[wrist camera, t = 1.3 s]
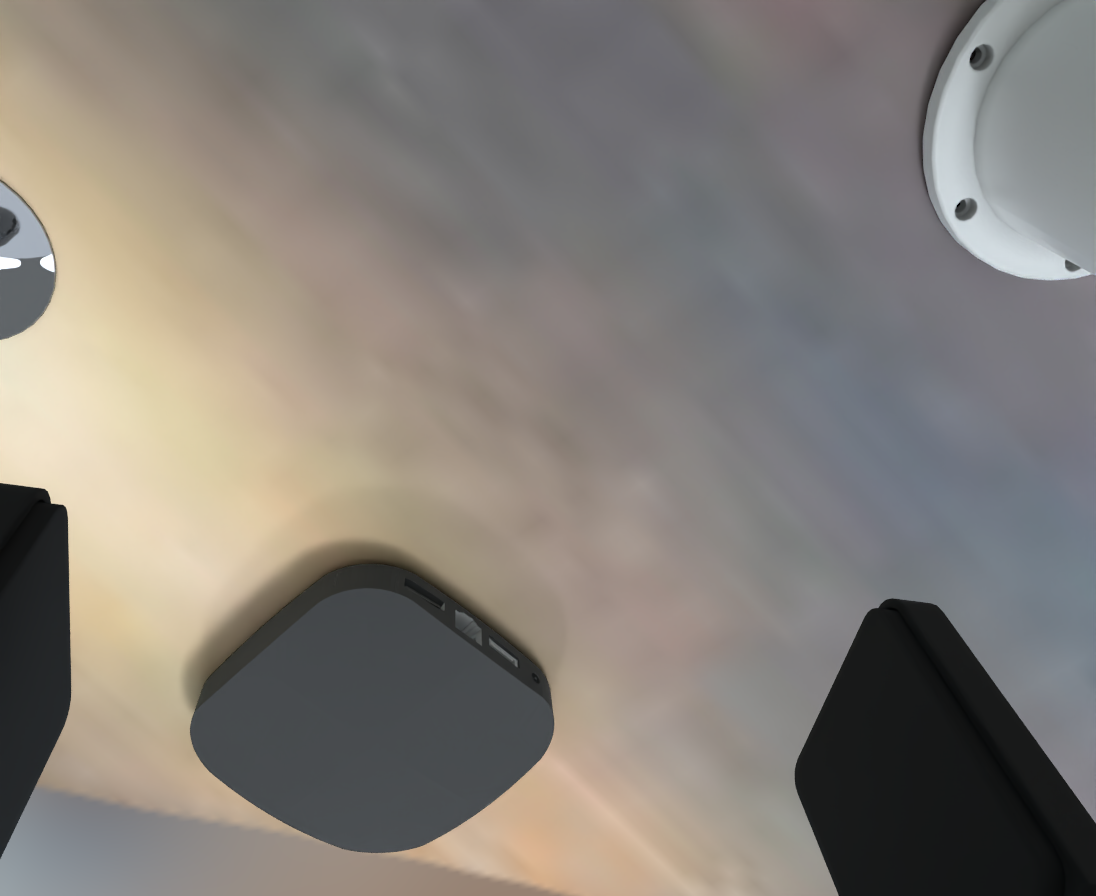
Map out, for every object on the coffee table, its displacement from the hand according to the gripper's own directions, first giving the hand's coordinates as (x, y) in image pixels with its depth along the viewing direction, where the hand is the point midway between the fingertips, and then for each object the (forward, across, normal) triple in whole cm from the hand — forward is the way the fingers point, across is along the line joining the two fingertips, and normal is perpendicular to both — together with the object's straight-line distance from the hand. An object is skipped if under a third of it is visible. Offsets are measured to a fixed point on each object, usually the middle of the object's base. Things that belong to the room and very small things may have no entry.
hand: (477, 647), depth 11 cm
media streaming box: (+28, -1, +27) cm, 39 cm away
